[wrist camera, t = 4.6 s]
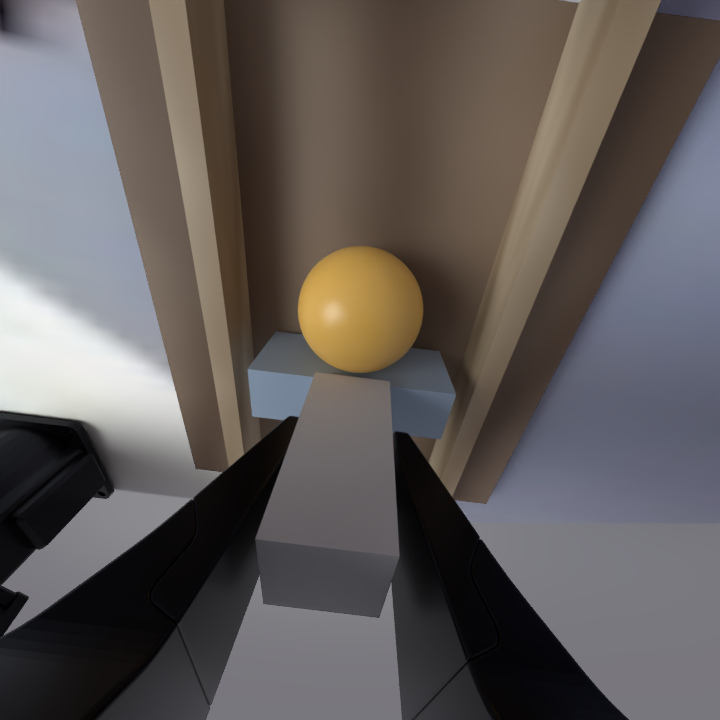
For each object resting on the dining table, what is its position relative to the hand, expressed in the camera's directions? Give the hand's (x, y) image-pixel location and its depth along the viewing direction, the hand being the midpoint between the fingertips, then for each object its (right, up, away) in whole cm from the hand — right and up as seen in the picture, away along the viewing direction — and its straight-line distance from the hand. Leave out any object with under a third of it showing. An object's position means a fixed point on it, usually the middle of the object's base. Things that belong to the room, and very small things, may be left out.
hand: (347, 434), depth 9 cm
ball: (0, +4, +1) cm, 4 cm away
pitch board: (0, +4, +4) cm, 6 cm away
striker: (0, +2, +4) cm, 4 cm away
